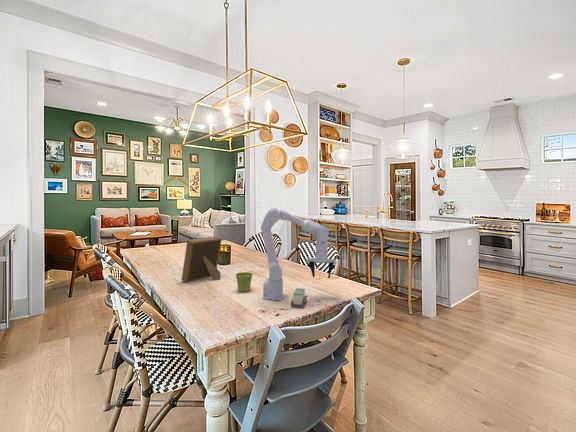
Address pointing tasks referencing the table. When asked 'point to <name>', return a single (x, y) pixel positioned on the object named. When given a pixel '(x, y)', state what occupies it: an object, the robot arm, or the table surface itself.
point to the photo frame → (201, 259)
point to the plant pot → (244, 281)
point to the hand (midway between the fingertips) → (321, 277)
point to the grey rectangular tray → (299, 305)
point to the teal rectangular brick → (298, 296)
